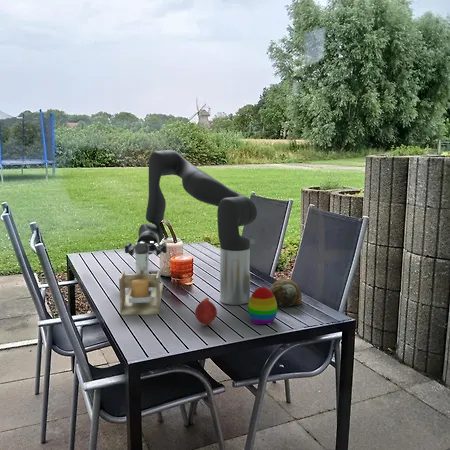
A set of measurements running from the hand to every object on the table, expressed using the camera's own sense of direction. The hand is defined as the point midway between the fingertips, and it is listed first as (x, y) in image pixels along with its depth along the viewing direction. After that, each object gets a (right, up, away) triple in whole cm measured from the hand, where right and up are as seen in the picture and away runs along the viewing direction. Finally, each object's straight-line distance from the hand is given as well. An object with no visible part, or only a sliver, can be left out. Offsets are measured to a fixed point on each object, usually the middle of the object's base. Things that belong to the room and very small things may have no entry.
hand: (144, 252), depth 152 cm
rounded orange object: (+2, -11, -17) cm, 20 cm away
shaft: (+1, -12, -13) cm, 18 cm away
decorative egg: (+37, -18, -24) cm, 48 cm away
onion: (+22, -19, -27) cm, 39 cm away
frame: (+1, -15, -6) cm, 16 cm away
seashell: (+46, -16, -9) cm, 50 cm away
